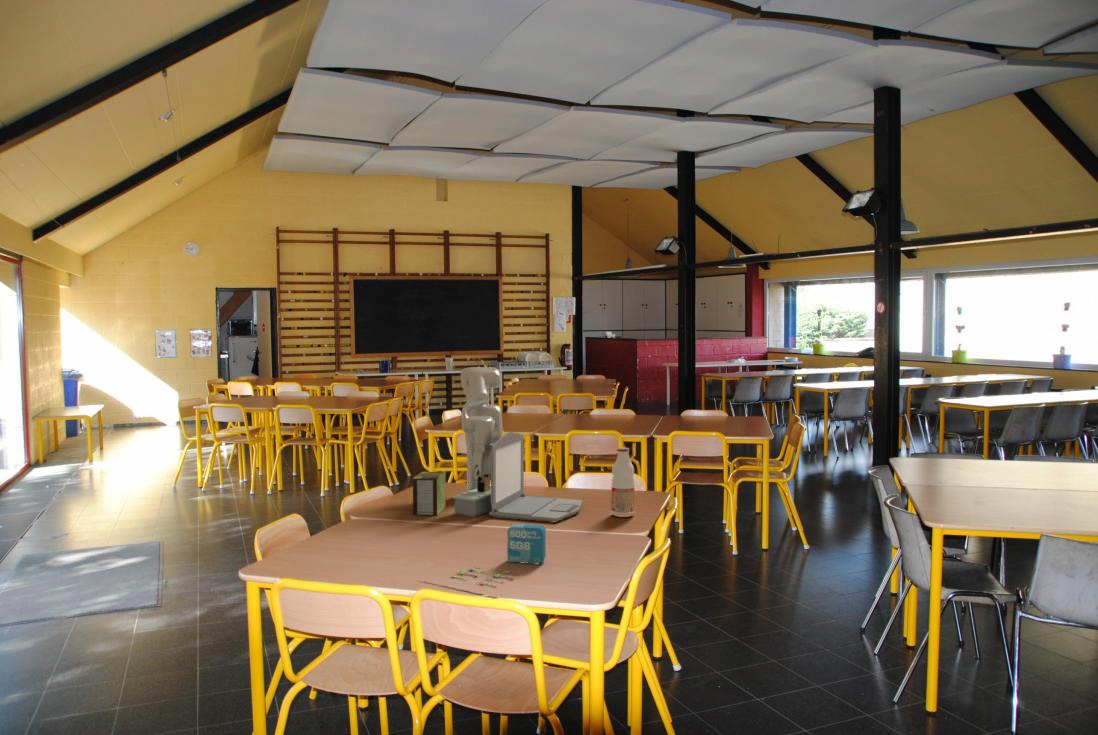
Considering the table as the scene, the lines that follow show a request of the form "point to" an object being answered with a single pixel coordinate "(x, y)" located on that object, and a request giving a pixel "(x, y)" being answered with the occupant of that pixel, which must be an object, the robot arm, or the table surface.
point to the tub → (473, 507)
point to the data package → (526, 543)
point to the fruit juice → (622, 484)
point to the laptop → (520, 486)
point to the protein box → (429, 493)
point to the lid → (476, 492)
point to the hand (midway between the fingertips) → (483, 490)
